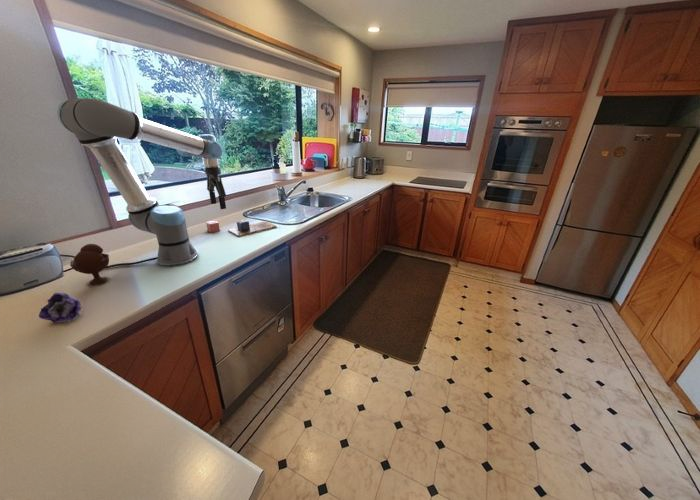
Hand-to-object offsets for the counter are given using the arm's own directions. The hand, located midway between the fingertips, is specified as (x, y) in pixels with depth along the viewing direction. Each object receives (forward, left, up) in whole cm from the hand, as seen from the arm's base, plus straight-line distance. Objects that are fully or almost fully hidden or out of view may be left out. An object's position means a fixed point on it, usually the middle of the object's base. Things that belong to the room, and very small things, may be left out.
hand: (218, 206), depth 155 cm
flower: (-67, -45, -15) cm, 83 cm away
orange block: (-3, +4, -14) cm, 15 cm away
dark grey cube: (+9, -8, -13) cm, 18 cm away
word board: (+15, -8, -14) cm, 22 cm away
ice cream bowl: (-57, -25, -15) cm, 65 cm away
